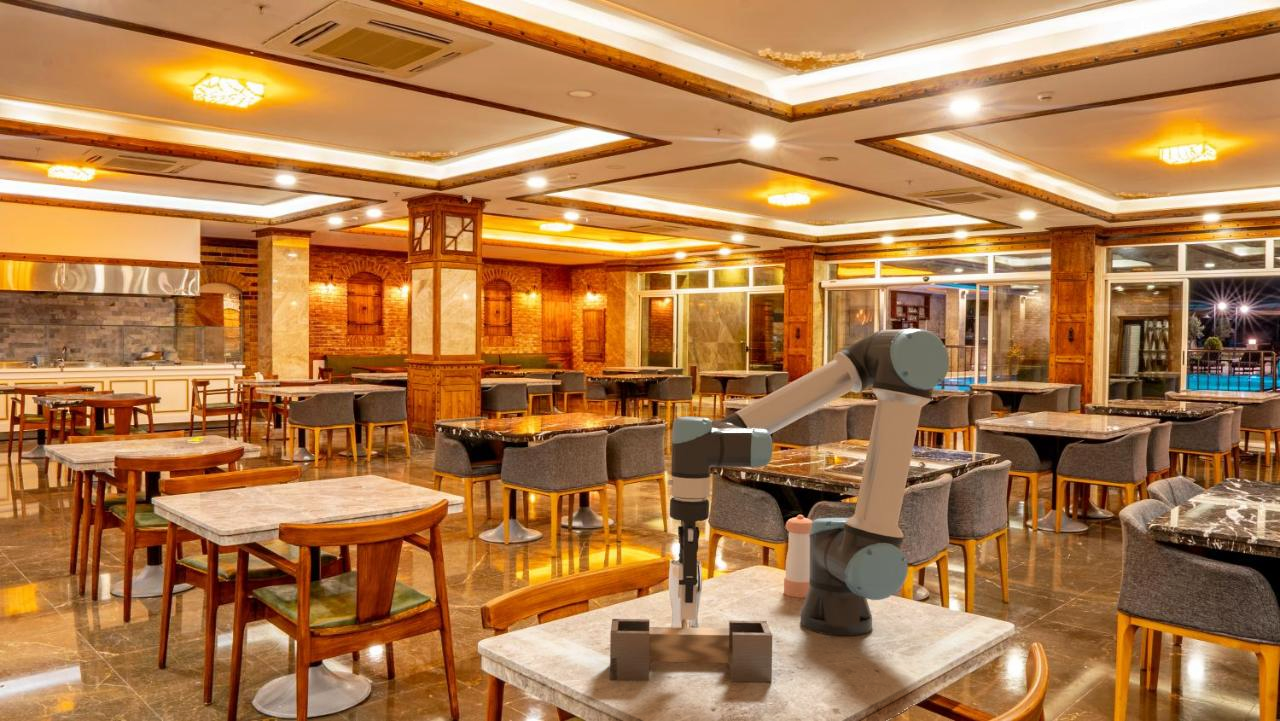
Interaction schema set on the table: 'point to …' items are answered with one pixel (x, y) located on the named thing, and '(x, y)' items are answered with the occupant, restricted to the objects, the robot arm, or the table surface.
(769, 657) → the brackets
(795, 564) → the pepper shaker
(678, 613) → the shiny metal tumbler
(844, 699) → the table surface
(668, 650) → the rail
